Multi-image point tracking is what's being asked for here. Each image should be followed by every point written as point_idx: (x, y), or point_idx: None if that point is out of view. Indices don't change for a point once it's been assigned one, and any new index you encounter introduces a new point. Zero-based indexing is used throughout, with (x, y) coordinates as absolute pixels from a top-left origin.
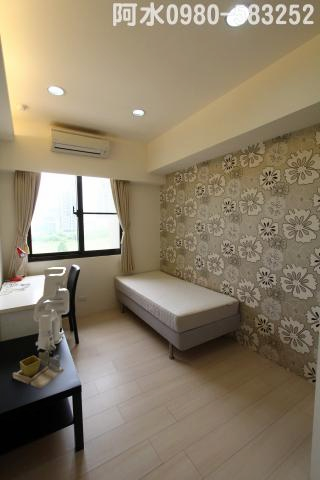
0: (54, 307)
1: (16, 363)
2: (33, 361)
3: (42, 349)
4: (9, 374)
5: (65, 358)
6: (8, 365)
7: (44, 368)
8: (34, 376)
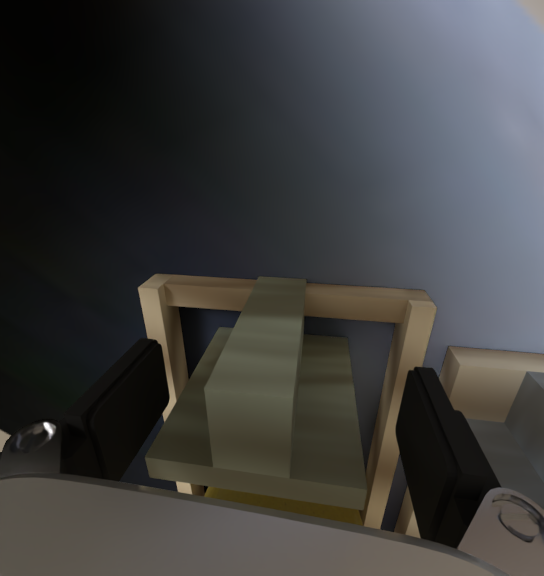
0: None
1: (25, 384)
2: (218, 494)
3: (105, 406)
4: (131, 482)
5: (516, 103)
6: (7, 415)
7: (384, 437)
8: (374, 527)
